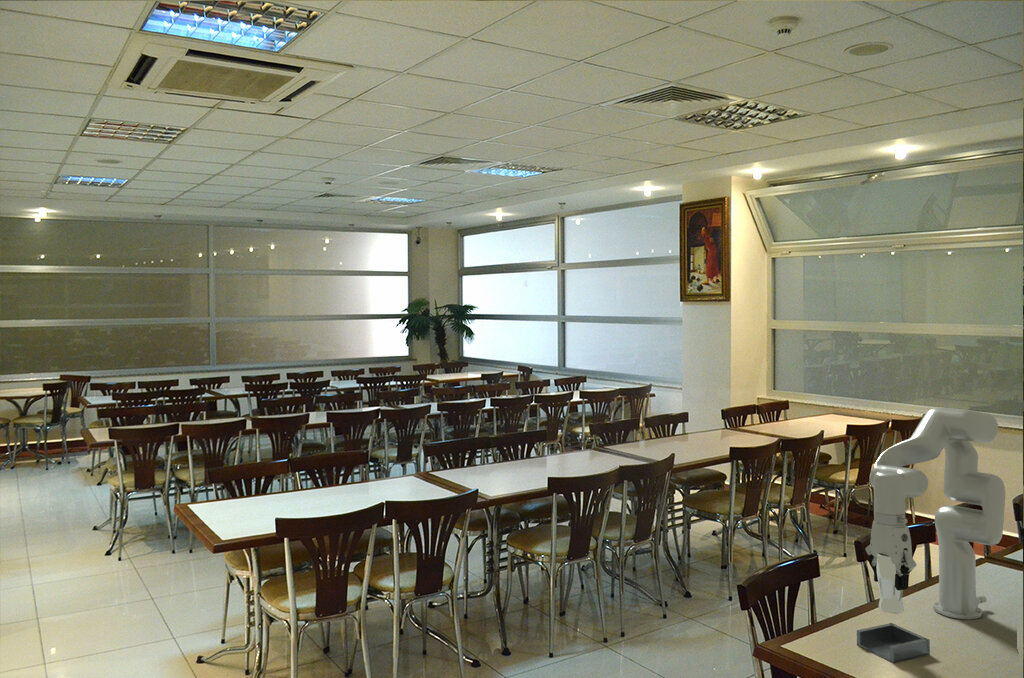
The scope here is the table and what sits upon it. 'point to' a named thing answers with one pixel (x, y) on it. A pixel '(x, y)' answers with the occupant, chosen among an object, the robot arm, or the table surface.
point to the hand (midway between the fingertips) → (890, 584)
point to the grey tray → (893, 642)
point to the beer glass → (888, 585)
